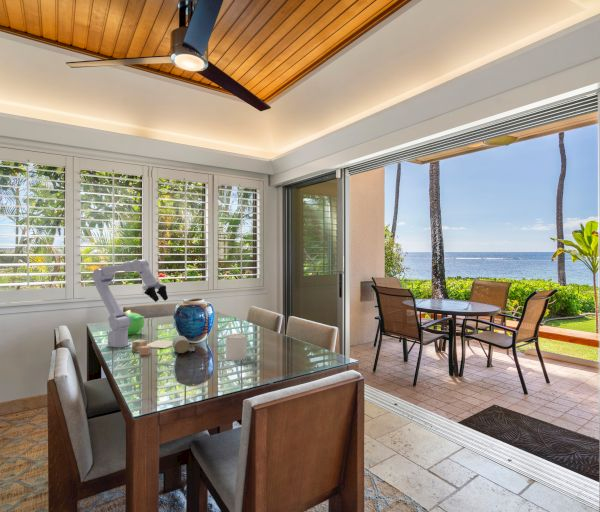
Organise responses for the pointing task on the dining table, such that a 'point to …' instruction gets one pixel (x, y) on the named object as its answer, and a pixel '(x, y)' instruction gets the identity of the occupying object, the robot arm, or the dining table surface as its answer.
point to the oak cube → (138, 344)
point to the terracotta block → (145, 350)
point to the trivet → (160, 344)
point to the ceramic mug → (182, 345)
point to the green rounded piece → (135, 322)
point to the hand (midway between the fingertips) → (161, 300)
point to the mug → (236, 346)
